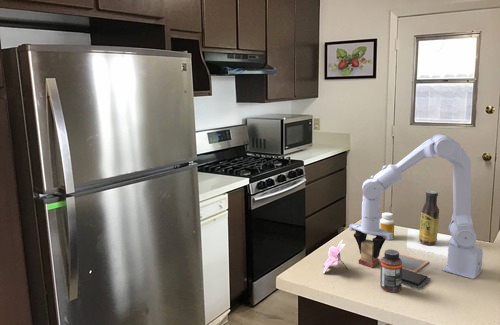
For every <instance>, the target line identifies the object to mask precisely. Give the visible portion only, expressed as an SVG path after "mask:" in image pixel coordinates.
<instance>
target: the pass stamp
mask: <svg viewBox="0 0 500 325" xmlns="http://www.w3.org/2000/svg"><path fill="white" fill-rule="evenodd" d="M358 264H359V265H362V266H364V267H367V268H371V269H373V268H375V267H376V266H378V265H380V264H381V259H380V258H379V257H377V258H374V245H373V240H371V239H368V238H366V240H365V241H363V242H361V254H360V258H359V259H358Z"/></svg>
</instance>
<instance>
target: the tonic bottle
mask: <svg viewBox="0 0 500 325" xmlns="http://www.w3.org/2000/svg"><path fill="white" fill-rule="evenodd" d="M438 196H439V192H438V191H436V190H431V189H430V190H426V191H425V202H424V204H423V207H422V209H421V211H420V220H419V233H418V242H419V243H420V244H423V245H426V246H433V245H436V244H437V240H438V231H439V229H438V228H439V221H440V220H439V219H440V217H439V216H440V209H439V207H438V204H437V203H438V202H437V201H438Z"/></svg>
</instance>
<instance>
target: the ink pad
mask: <svg viewBox="0 0 500 325" xmlns="http://www.w3.org/2000/svg"><path fill="white" fill-rule="evenodd" d="M431 280H432V279H431V277H429V276H427V275H425V274H422V273H418V272H416V273H415V272H412V271H408V270H405V269H402V282H401V285H404V286H406V287H410V288H414V289H416V290H421V289H422V288H423V287H424V286H426V285H427V284H428V283H429V282H431Z"/></svg>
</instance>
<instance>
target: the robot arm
mask: <svg viewBox="0 0 500 325" xmlns="http://www.w3.org/2000/svg"><path fill="white" fill-rule="evenodd" d="M435 155H437V157H439V158H442V159H444V160H447V161H448V162H450V163H451V164H452V204H453V205H452V211H453V213H451V221H450V223H449V224H448V232H449V234H450V235H451V237H450V238H449V240H448V250H447V251H448V252H447V265H445V266H444V267H442V269H441V270H442V271H443V272H447V273H450V274H454V275H458V276H461V277H464V278H465V277H466V278H469V279H472V280H474V279H476V278H477V276H479V275H480V274H481V273H482V272H483V269H482V268H483V267H482V266H483V257H484V256H483V254H484V253H483V249H482V248H481V247H478V246H476V245H475V244H476V242H477V238H478V236H477V233H476V232H475V230H474V222H473V219H472V206H471V205H472V202H471V201H472V198H471V197H472V183H471V182H472V177H471V176H472V166H471V165H472V160H471V157H470V156H469V155H468V153H467V152H466V151H465V149H464V147H462V145H461V143H460V142H458V141H456V140H455V139H454V138H452V137H450V136H449V135H447V134H445V133H437V134H435V135H433V136H432V137H431V138H429V139H427V140H425V141H424V142H422V143H420V145H418V147H416V148H414V150H412V151H411V152H410V153H408V154H407V155H406V156H404V158H402V159H401V160H400V161H398V162H397V163H395V164H391V163H390V164H388V165H386V164H384V165H383V166H382V169H381V170H380V171H379V172H377V173H376V174H375V175H373V174H372V175H371V176H370V178H367V179H366V180H364V181H363V183H362V186H361V191H362V198H361V199H362V202H361V223H360V224H356V223H351V224H349V227H348V229H349V231H351V232H355V233H353V237H354V239H355V241H356V243H357V246H358V249H359V253H360V254H359V255H361V242H363V241H365V240H367V237H368V235H370V236H374V237H373V238H372V241H373V245H374V258H377V257H378V258H379V256H380V252H381V249H382V247H383V245H384V244H385V241H392V240H393V239H392V233H390V232H387V231H385V230H383V229H380V219H381V216H380V215H381V202H380V198H381V195H382V192H383V191H386V190H388V189H389V188H390V187H392V186H393V185H394V184H396V183H397V182H398V181H400V180H401V179H402V175H403V173H404V172H406V171H408V170H409V169H410V168H411V167H414V165H416V164H417V163H419V162H421V161H422V160H424V159H435V158H436V156H435ZM386 239H387V240H386ZM391 239H392V240H391Z"/></svg>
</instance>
